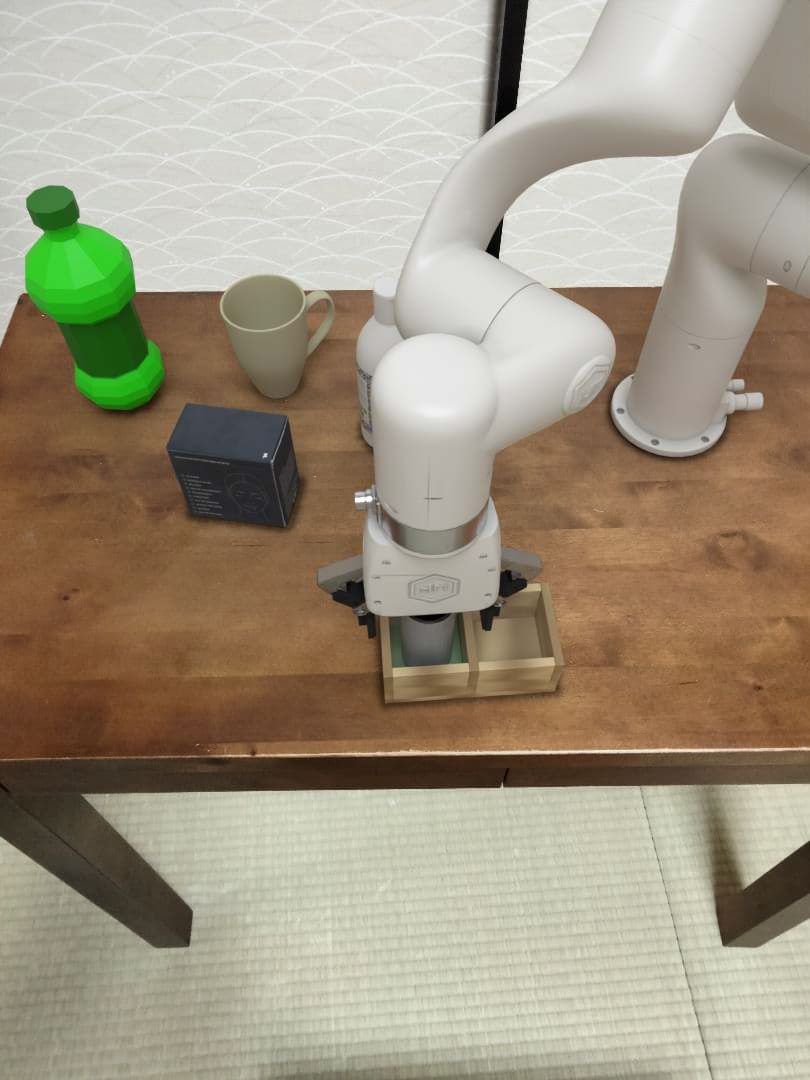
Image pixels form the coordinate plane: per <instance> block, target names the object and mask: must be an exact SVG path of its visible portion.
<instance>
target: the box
mask: <svg viewBox="0 0 810 1080" xmlns="http://www.w3.org/2000/svg"><path fill="white" fill-rule="evenodd" d="M289 420H290V419H289V415H287V414H281V413H280V414H279V413H273V412H265V411H255V410H250V409H249V410H248V409H240V408H232V407H226V406H225V407H223V406H216V405H207V404H199V403H192V402H191V403H190V402H186V403H185V405H184V407H183V409H182V410H181V413H180V415H179V417H178V419H177V422H176V424H175V426H174V427H173V430H172V433H171V435H170V436H169V439H168V441H167V443H166V446H165V449H166V452H167V454H168V457H169V460H170V464H171V465H172V468H173V471H174V473H175V476H176V479H177V482H178V484H179V487H180V489H181V492H182V494H183V498H184V501H185V503H186V506H187V508H188V512H189V513H190V516H194V517H195V516H196V517H204V518H212V519H221V520H226V521H227V520H229V521H234V522H240V523H241V522H242V523H247V524H256V525H262V526H271V527H277V528H286V527H287V525H288V523H289V519H290V518H291V515H292V512H293V508H294V505H295V503H296V499H297V496H298V492H299V487H300V484H301V480H300V474H299V469H298V463H297V459H296V453H295V448H294V442H293V439H292V438H293V436H292V431H291V426H290V425H291V424H290V421H289Z"/></svg>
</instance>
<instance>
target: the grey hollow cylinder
mask: <svg viewBox="0 0 810 1080" xmlns="http://www.w3.org/2000/svg"><path fill="white" fill-rule="evenodd" d="M455 613H456V612H455ZM455 613H442V614H427V615H410V616H401V632H402V656H403V660H404V663H405V665H406V666H407V667H416V666H431V665H445V664H449V662H450V659H451V654H452V644H453V633H454V623H455Z"/></svg>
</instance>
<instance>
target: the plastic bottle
mask: <svg viewBox="0 0 810 1080" xmlns="http://www.w3.org/2000/svg"><path fill="white" fill-rule="evenodd" d="M25 199H26V200H25V207H26V210H27V212H28V214H29V217H30V219H31V221H32V223H33V225H34V226H35V227H37V228H39V229H41V230H42V231H43V233H42V234H41V236H40V237H39V238H38V239H37V240H36V241H35V242H34V244H33V245H32V246H31V247H30V249H29V250H28V251H27V253H26V254H25V256H24V283H25V284H24V285H25V287H24V288H25V290H26V292H27V295H28V296H29V299H30V300H31V301H32V303H33V304H34V305H35V307H37V308H38V310H40V311H41V312H43V313H44V314H45V315H47V316H48V317H50V318H51V319H52V320H54V321H56V324H57V326H58V328H59V330H60V332H61V334H62V336H63V338H64V339H63V340H64V341H65V343H66V345H67V347H68V349H69V352H70V354H71V356H72V358H73V360H74V363H73V364H74V366H73V367H74V384H75V386H76V387H77V390H78V391H79V392H80V393H81V394H82V395H84V396H85V397H86V398H87V399H89V400H90V401H91V402H93V403H94V404H95V405H97V406H99V407H100V408H101V409H104V410H115V411H116V410H117V411H132V410H135V409H137V408H140V407H142V406H144V405H145V404H146V403H148V402H150V400H151V399H152V398H153V396H154V395H155V393H157V391H158V390H159V389H160V387H162V385H163V383H164V381H165V369H164V363H163V362H164V361H163V356H162V353H161V350H160V348H159V347H158V346H157V345H156V344H155V343H154V342H153V341H151V340H150V339H149V338H147V336H146V333H145V330H144V328H143V325H142V323H141V322H142V321H141V318H140V316H139V313H138V311H137V307H136V305H135V302H134V299H133V297H134V296H135V295H136V293H137V288H136V279H135V278H136V277H135V269H134V261H133V258H132V254H131V252H130V250H129V248H128V247H127V246H126V245H125V243H123V242H122V241H121V240H120V239H119V238H116V237H115V236H114V235H112V234H110V233H109V232H107V231H106V230H104V229H102V228H100V227H96V226H93V225H90V224H86V223H82V222H79V219H80V218H81V215H80V207H79V204H78V202H77V199H76V197H75V194H74V191H73V190H71V189H69V188H68V187H66V186H64V185H52V184H51V185H45V186H43V187H39V188H37V189H34V190H33V191H32V192H31V193H30V194H29V195H28V196H27V197H26V198H25Z"/></svg>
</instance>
